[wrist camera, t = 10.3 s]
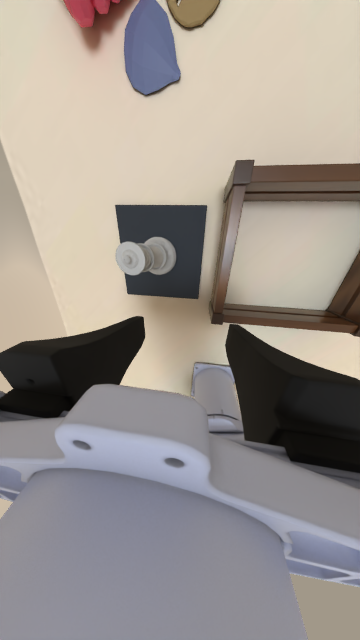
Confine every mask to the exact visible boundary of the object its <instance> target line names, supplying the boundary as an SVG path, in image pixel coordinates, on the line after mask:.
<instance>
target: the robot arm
mask: <svg viewBox="0 0 360 640" xmlns="http://www.w3.org/2000/svg"><path fill="white" fill-rule="evenodd" d="M144 339H145V328H144V318H143V317H140V316H135V317H132V318H129V319H127V320H124V321H122V322H119V323H117V324H114V325H111V326H108V327H106V328H103V329H99V330H96V331H92V332H88V333H84V334H79V335H75V336H69V337H63V338H56V339H49V340H37V341H25V342H22V343H19V344H17V345H15V346H13V347H11V348H9V349H7V350H5V351H3V352H1V353H0V371H1V373H2V374H3V375H4V377H5V378H6V379H7V381H8V382H9V383H10V385H11V386H12V387H13V389H12V390H11V391H9V392H8V393H7V394H6V393H4V392H2V391H0V498H2V499H5V500H8V501H11V502H13V503H12V504H11V506H10V507H9V508H8V510H7V511H6V513H5V514H4V515H3V516H2V518H1V519H0V640H308V638H307V634H306V630H305V627H304V624H303V620H302V616H301V613H300V609H299V606H298V602H297V598H296V595H295V592H294V588H293V584H292V581H291V577H290V574H289V573H291V574H296V575H301V576H306V577H312V578H317V579H321V580H326V581H332V582H337V583H342V584H347V585H352V586H357V587H360V380H358V379H356V378H353V377H350V376H347V375H343V374H340V373H337V372H333V371H330V370H327V369H324V368H321V367H318V366H316V365H313V364H310V363H307V362H305V361H302V360H300V359H297V358H295V357H293V356H290V355H288V354H286V353H284V352H282V351H280V350H278V349H276V348H274V347H272V346H270V345H268V344H267V343H265V342H263V341H262V340H260V339H259V338H257V337H256V336H254V335H253V334H251V333H250V332H248V331H247V330H245V329H244V328H243V327H241V326H239V325H236V324H230V325H229V330H228V335H227V339H226V344H225V346H226V353H227V358H228V361H229V364H230V366H221V365H213V364H204V363H195V364H194V373H193V382H192V391H191V396H193V397H194V399H193V398H191V397H188V396H185V395H182V394H179V393H173V392H166V391H158V390H151V389H144V388H137V387H129V386H122V385H120V382H121V380H122V378H123V376H124V374H125V372H126V370H127V369H128V367H129V365H130V364H131V362H132V360H133V359H134V357H135V356H136V354H137V353H138V351H139V349H140V348H141V346H142V344H143V341H144ZM234 382H235V384H236V389H237V394H238V400H239V404H238V400H237V396H236V393H235V389H234ZM239 406H240V408H239ZM240 411H241V412H240Z"/></svg>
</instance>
